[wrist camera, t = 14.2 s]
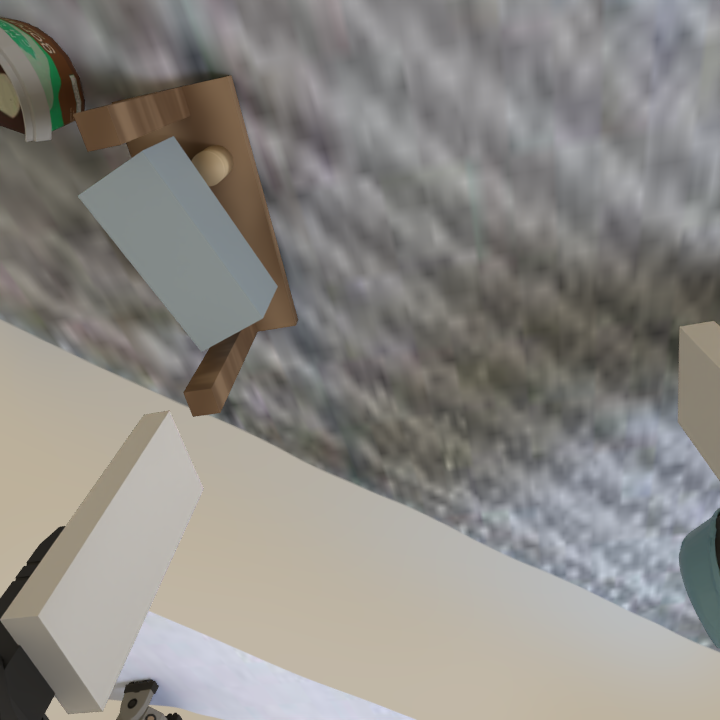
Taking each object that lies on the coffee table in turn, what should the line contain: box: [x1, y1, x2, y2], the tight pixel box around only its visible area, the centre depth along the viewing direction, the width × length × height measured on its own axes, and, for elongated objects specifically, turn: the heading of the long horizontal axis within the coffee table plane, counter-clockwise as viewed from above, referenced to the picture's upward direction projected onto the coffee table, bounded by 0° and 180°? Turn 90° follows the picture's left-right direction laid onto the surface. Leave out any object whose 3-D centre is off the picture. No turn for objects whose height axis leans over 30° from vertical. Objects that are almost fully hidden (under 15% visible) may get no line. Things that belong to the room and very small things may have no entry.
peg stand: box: [73, 76, 298, 417], centre depth 43 cm, size 9×20×14 cm, turn 11°
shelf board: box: [78, 136, 278, 352], centre depth 43 cm, size 6×13×6 cm, turn 31°
